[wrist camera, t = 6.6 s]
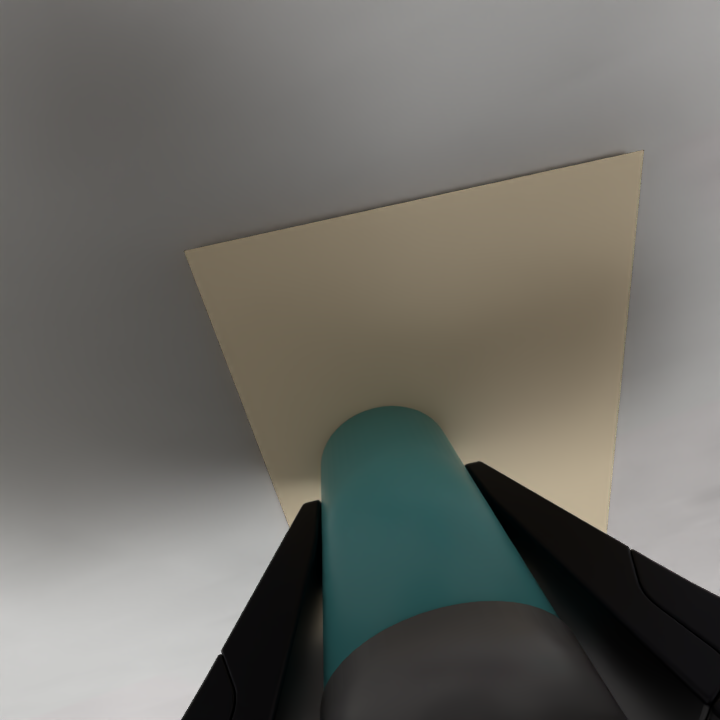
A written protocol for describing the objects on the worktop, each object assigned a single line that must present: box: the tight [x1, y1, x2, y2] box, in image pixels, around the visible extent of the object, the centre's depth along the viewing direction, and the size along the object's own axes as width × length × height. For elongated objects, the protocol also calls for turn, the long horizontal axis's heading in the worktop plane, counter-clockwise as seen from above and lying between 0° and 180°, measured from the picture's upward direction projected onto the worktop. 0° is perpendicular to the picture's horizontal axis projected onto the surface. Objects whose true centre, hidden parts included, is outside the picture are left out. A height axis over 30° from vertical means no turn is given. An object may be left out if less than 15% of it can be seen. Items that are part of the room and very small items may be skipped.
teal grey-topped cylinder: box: [320, 406, 628, 720], centre depth 7 cm, size 4×4×6 cm
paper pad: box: [184, 150, 644, 534], centre depth 10 cm, size 10×14×1 cm
